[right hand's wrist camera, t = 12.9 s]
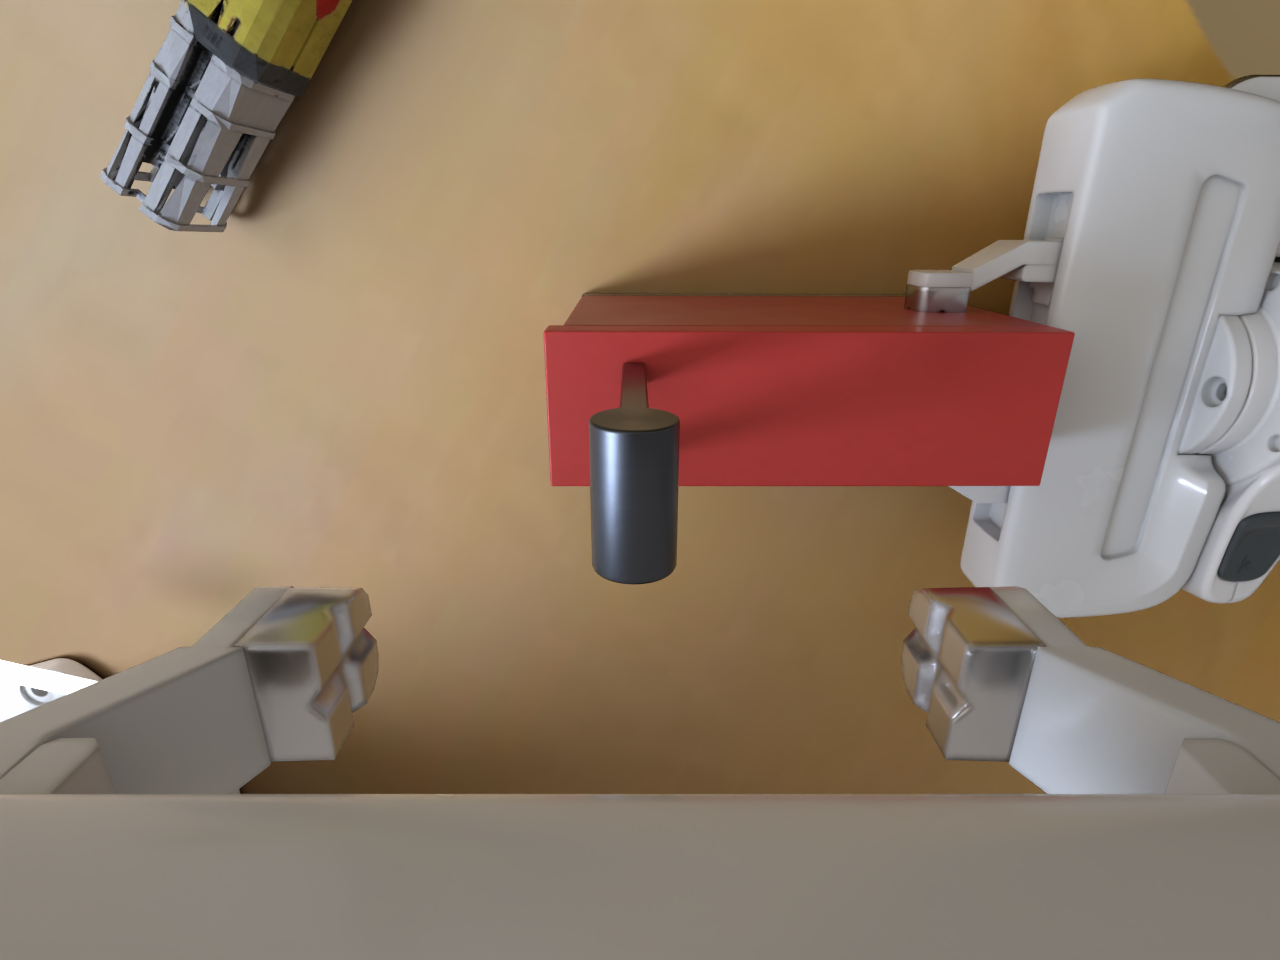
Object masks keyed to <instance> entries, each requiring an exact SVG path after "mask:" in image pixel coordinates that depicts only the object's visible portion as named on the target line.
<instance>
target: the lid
mask: <svg viewBox="0 0 1280 960" xmlns="http://www.w3.org/2000/svg"><path fill="white" fill-rule="evenodd" d="M1074 336H1075V333H1074V332H1071V331H1067V330H1063V329H1059V328H1055V327H965V326H548V327H547V329H546V330H545V331H544V352H545V373H546V394H547V416H548V437H549V459H550V480H551V486H590V492H591V534H592V565H593V568H594V570H595V571H596V572H597V574H599V575H600V576H601V577H603V578H605V579H607V580H610V581H613V582H617V583H623V584H646V583H651V582H655V581H658V580H661V579H663V578H665V577H667V576H669V575H670V574H671V573H672V572H673V571H674V569H675V567H676V558H677V520H678V486H1039V485H1040V483H1041V478H1042V474H1043V470H1044V465H1045V461H1046V457H1047V453H1048V448H1049V444H1050V440H1051V435H1052V431H1053V427H1054V422H1055V418H1056V414H1057V409H1058V405H1059V401H1060V396H1061V392H1062V388H1063V383H1064V379H1065V375H1066V370H1067V366H1068V362H1069V357H1070V353H1071V349H1072V344H1073V340H1074Z"/></svg>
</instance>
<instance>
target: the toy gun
mask: <svg viewBox="0 0 1280 960" xmlns="http://www.w3.org/2000/svg"><path fill="white" fill-rule="evenodd" d="M351 2H352V0H182V1H181V4H180V6H179V8H178V10H177V12H176V15H175V16H171V20H170V27H171V29H170V31H169V33H168V35H167V37H166V39H165V41H164V43H163V45H162V47H161V49H160V51H159V52H158V54H157V56H156V58H155V60H154V61H153V60H152V62H151V64H150V66H149V67H150V70H151V71H150V73H149V75H148V78H147V80H146V82H145V84H144V86H143V89H142V91H141V93H140V95H139V97H138V100H137V102H136V104H135V106H134V108H133V110H132V113H131V115H130V116H129V117H127V118H126V121H125V126H124V127H125V128H126V131H125V133H124V135H123V137H122V139H121V141H120V143H119V145H118V147H117V149H116V151H115V153H114V155H113V157H112V159H111V161H110V163H109V165H108V167H107V168H105V169H103V170H102V173H101V175H100V177H101V178H102V180H103V181H104V182H105V184H107V185H108V186H109V187H110V188H112V189H113V190H114V191H115V192H117V193H118V194H119V195H122V196H134V197H137V198H138V199H140V200H141V201H142V202H143V203H142V205H141V207H140V208H139V210H140V211H141V212H143V213H144V214H145V215H147V216H148V217H149V218H150V219H152V220H153V221H154V222H156V223H158V224H160V225H162V226H164V227H165V228H167V229H169V230H174V231H196V232H223V231H224V230H225V228H226V225H227V222H226V221H227V219H228V217H229V215H230V214H231V212H232V210H233V208H234V206H235V204H236V203H237V201H238V199H239V197H240V195H241V194H242V192H243V190H244V188H245V187H249V183H250V176H251V174H252V172H253V171H254V169H255V167H256V165H257V163H258V161H259V160H260V158H261V156H262V154H263V152H264V150H265V148H266V147H267V145H268V143H269V141H270V139H273V138H274V136H275V134H276V131H275V129H276V128H277V126H278V124H279V123H280V121H281V119H282V118H283V116H284V115H285V113H286V111H287V110H288V108H289V107H290V105H291V103H292V102H293V100H294V98H295V96H299V97H302V96H303V94H304V92H305V90H306V88H307V86H308V84H309V82H310V79H311V77H312V76H313V74H314V72H315V70H316V68H317V66H318V64H319V62H320V61H321V59H322V57H323V55H324V53H325V51H326V49H327V47H328V46H329V44H330V42H331V40H332V38H333V36H334V34H335V32H336V30H337V29H338V27H339V25H340V23H341V21H342V19H343V17H344V15H345V14H346V12H347V10H348V8H349V6H350V4H351ZM142 162H146V163H151V164H152V165H154V166H153V168H152V170H151V173H147V172H139V168H140V166H141V164H142ZM134 180H141V181H150V182H153V183H152V185H151V187H150V189H149V191H148V193H147V195H144V194H143V193H142V192H141V191H140V190H138V189H130V188H131V186H132V184H133V182H134ZM210 185H212V187H213V189H214V190H213V192H212V194H211V196H210V198H209V200H208V202H207V204H206V206H205V207H200V204H201V202H202V200H203V198H204V196H205V194H206V193H207V191H208V189H209V187H210ZM172 189H175V191H174V192H173V194H172V195H171V197H170V198H169V200H168V201H167V202H166V200H167V198H168V196H169V194H170V192H171V190H172ZM165 202H166V204H165ZM164 204H165V205H164ZM163 206H164V207H163ZM196 212H198V213H202V214H203V215H204V216H205V217H207V218H208V219H209V220H211V221H212V222H211V224H210V225H189V224H190V222H191V220H192V219H193V217H194V215H195V213H196Z"/></svg>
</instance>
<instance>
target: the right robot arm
mask: <svg viewBox="0 0 1280 960" xmlns="http://www.w3.org/2000/svg"><path fill="white" fill-rule="evenodd" d="M371 615H372V611H371V607H370V602H369V597H368V594H367V593H366V592H365V591H364V590H363V589H362V588H330V587H293V586H280V587H259V588H254V589H253V590H252V591H251V592H250V593H249V594H248V595H247V596H246V597H245V598H244V599H243V600H242V601H240V602H239V603H238V604H237V605H236V606H235V607H234V608H233V609H232V610H231V611H230V612H229V613H228V614H227V615H226V616H224V617H223V618H222V619H221V620H220V621H219V622H218V623H217V624H216V625H215V626H214V627H213V628H212V629H211V630H210V631H208V632H207V633H206V634H205V635H204V636H203V637H202V638H201V639H200V640H199V641H198V642H197V643H196V644H195V645H194V646H192V647H180V648H177V649H175V650H172V651H170V652H168V653H165V654H163V655H160V656H158V657H156V658H153V659H151V660H148V661H146V662H144V663H141V664H139V665H136V666H134V667H132V668H129V669H127V670H124V671H122V672H120V673H117V674H115V675H112V676H110V677H108V678H105V679H102V678H100V677H99V676H98V675H96V674H95V673H94V672H92V671H91V670H90V669H88V668H87V667H85V666H83V665H82V664H80V663H78V662H76V661H73V660H70V659H66V658H58V659H53V660H49V661H45V662H41V663H37V664H34V665H30V666H25V665H20V664H16V663H11V662H7V661H2V660H0V960H1280V722H1277V721H1275V720H1272V719H1270V718H1268V717H1265V716H1263V715H1260V714H1258V713H1256V712H1253V711H1251V710H1249V709H1246V708H1244V707H1241V706H1239V705H1237V704H1234V703H1232V702H1229V701H1227V700H1225V699H1222V698H1220V697H1218V696H1215V695H1213V694H1210V693H1208V692H1206V691H1203V690H1201V689H1198V688H1196V687H1194V686H1191V685H1189V684H1186V683H1184V682H1182V681H1179V680H1177V679H1175V678H1172V677H1170V676H1167V675H1165V674H1163V673H1160V672H1158V671H1155V670H1153V669H1151V668H1148V667H1146V666H1143V665H1141V664H1139V663H1136V662H1134V661H1132V660H1129V659H1127V658H1124V657H1122V656H1120V655H1117V654H1115V653H1112V652H1110V651H1108V650H1105V649H1103V648H1100V647H1088V646H1086V645H1085V644H1084V643H1083V642H1082V641H1081V640H1080V639H1079V638H1078V637H1077V636H1076V635H1075V634H1074V633H1073V632H1072V631H1071V630H1069V629H1068V628H1067V627H1066V626H1065V625H1064V624H1063V623H1062V622H1061V621H1060V620H1059V619H1058V618H1057V617H1056V616H1055V615H1054V614H1052V613H1051V612H1050V611H1049V610H1048V609H1047V608H1046V607H1045V606H1044V605H1043V604H1042V603H1041V602H1040V601H1039V600H1038V599H1037V598H1035V597H1034V596H1033V595H1032V594H1031V593H1030V592H1029V591H1028V590H1027V589H1025V588H1022V587H1019V586H1006V587H965V588H924V589H916V590H915V591H914V593H913V595H912V598H911V600H910V605H909V611H908V615H909V617H910V619H911V620H912V622H913V623H914V625H915V626H916V628H915V629H914V630H913V631H912V632H911V633H910V634H909V635H908V636H907V637H906V638H905V639H904V642H903V650H902V657H901V663H902V674H903V680H904V683H905V687H906V690H907V692H908V694H909V696H910V698H911V700H912V702H913V703H914V704H915V705H916V706H918V707H920V708H921V709H923V710H924V711H926V712H927V713H928V716H927V722H926V726H927V728H928V730H929V732H930V733H931V735H932V737H933V739H934V740H935V742H936V744H937V745H938V747H939V749H940V751H941V752H942V754H943V756H944V758H945V759H946V760H972V761H1009V765H1010V766H1012V767H1013V768H1014V769H1016V770H1017V771H1018V772H1020V773H1021V774H1022V775H1024V776H1025V777H1026V778H1027V779H1029V780H1030V781H1031V782H1033V783H1034V784H1035V785H1037V786H1038V787H1039V788H1041V789H1042V790H1043V791H1045V792H1046V793H1047V794H240V790H239V789H240V788H241V787H242V786H244V785H245V784H246V783H248V782H249V781H250V780H251V779H253V778H254V777H255V776H257V775H258V774H259V773H261V772H262V771H263V770H265V769H266V768H267V767H269V766H270V765H271V761H307V760H334V759H335V758H336V756H337V754H338V752H339V751H340V749H341V747H342V746H343V744H344V742H345V740H346V739H347V737H348V735H349V733H350V732H351V730H352V728H353V726H354V722H353V716H352V713H353V712H354V711H356V710H357V709H359V708H360V707H362V706H364V705H365V704H366V703H367V702H368V700H369V698H370V696H371V694H372V692H373V690H374V687H375V683H376V678H377V674H378V648H377V641H376V639H375V638H374V637H373V636H372V635H371V634H370V633H369V632H368V631H367V630H366V629H365V628H364V626H365V625H366V623H367V622H368V620H369V619H370V617H371Z"/></svg>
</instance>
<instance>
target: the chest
mask: <svg viewBox="0 0 1280 960" xmlns="http://www.w3.org/2000/svg"><path fill="white" fill-rule="evenodd" d="M905 296H906V294H583V295H582V298H581V299H580V301H579V303H578V304H577V306H576V307H575V309H574V310H573V312H572V313H571V315H570V316H569V318H568V319H567V321H566V322H565V324H564V325H563V326H965V327H1050V326H1047V325H1043V324H1039V323H1035V322H1032V321H1028V320H1024V319H1020V318H1016V317H1012V316H1008V315H1004V314H1000V313H996V312H992V311H988V310H984V309H981V308H977V307H973V306H969V305H967V308H966V313H945V312H942V311H940V312H938V313H924V312H915V311H911V310H910V309H905V308H904V303H905Z"/></svg>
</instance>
